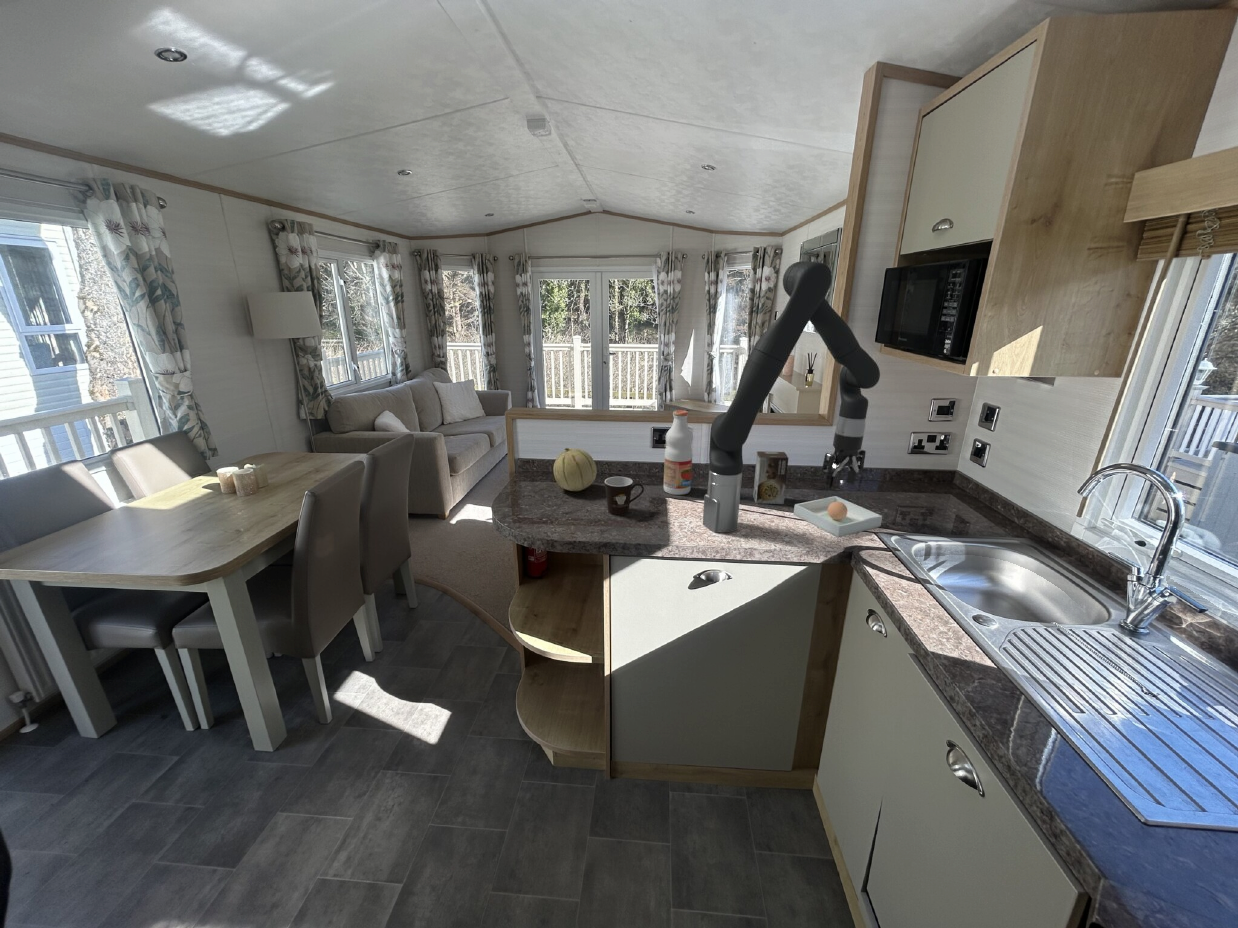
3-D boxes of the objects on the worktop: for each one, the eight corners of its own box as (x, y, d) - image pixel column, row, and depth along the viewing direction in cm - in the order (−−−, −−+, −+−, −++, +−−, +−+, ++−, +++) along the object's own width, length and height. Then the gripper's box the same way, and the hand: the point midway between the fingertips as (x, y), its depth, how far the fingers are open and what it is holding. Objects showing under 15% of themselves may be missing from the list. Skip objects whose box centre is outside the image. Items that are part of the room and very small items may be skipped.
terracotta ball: (836, 524, 147) (839, 506, 145) (822, 517, 151) (824, 500, 150) (850, 521, 149) (853, 504, 147) (835, 514, 154) (838, 497, 152)
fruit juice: (666, 484, 179) (669, 407, 170) (692, 487, 176) (696, 409, 167) (660, 493, 170) (663, 413, 161) (688, 496, 168) (692, 415, 159)
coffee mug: (601, 515, 153) (601, 484, 150) (608, 504, 161) (608, 475, 158) (638, 519, 150) (639, 488, 147) (643, 508, 158) (644, 478, 155)
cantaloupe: (598, 496, 167) (598, 454, 163) (554, 498, 165) (552, 455, 161) (594, 481, 181) (594, 441, 176) (553, 483, 179) (552, 443, 175)
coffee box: (779, 497, 168) (785, 451, 163) (784, 504, 162) (789, 457, 157) (752, 496, 169) (756, 450, 164) (755, 503, 163) (760, 456, 158)
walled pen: (837, 537, 139) (839, 526, 138) (793, 514, 154) (794, 504, 153) (880, 526, 146) (882, 516, 145) (834, 505, 161) (835, 496, 160)
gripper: (842, 437, 136) (832, 493, 141) (878, 433, 142) (867, 486, 147) (820, 431, 142) (812, 484, 147) (856, 427, 148) (846, 478, 153)
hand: (840, 485), depth 147 cm, fingers open, 8 cm apart
